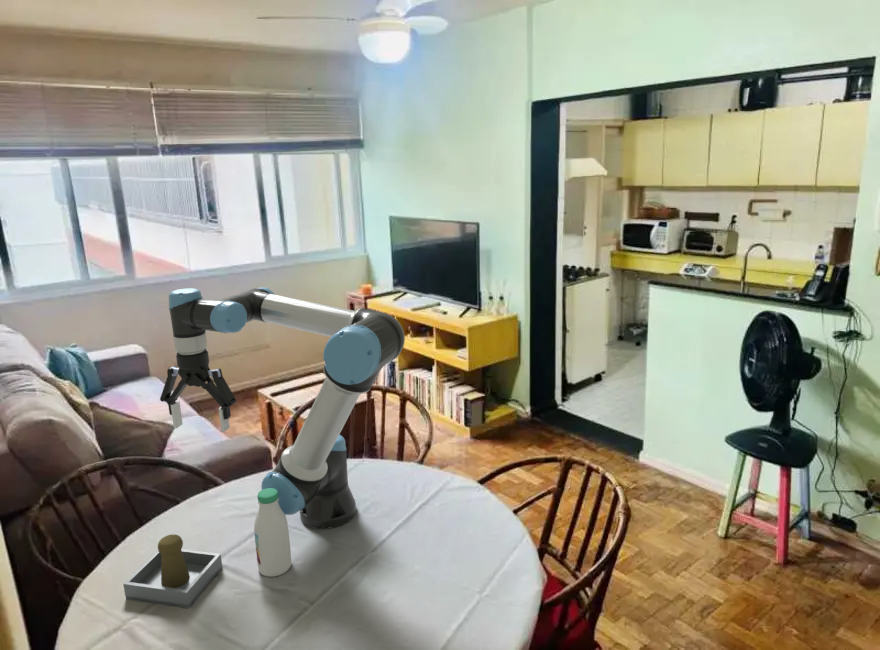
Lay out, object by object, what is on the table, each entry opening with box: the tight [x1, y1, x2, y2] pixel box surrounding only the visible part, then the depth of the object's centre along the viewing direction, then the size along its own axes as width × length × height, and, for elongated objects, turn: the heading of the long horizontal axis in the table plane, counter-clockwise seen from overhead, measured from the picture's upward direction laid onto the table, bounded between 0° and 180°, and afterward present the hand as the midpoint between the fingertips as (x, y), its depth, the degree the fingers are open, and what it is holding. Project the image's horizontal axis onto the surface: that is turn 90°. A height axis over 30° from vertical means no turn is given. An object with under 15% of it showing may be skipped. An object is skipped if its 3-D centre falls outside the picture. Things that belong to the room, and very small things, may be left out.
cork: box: [157, 533, 190, 588], centre depth 139 cm, size 6×6×11 cm
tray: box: [123, 548, 223, 609], centre depth 140 cm, size 16×14×4 cm
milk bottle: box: [253, 488, 292, 578], centre depth 143 cm, size 8×8×20 cm
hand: (201, 428), depth 158 cm, fingers open, 13 cm apart
